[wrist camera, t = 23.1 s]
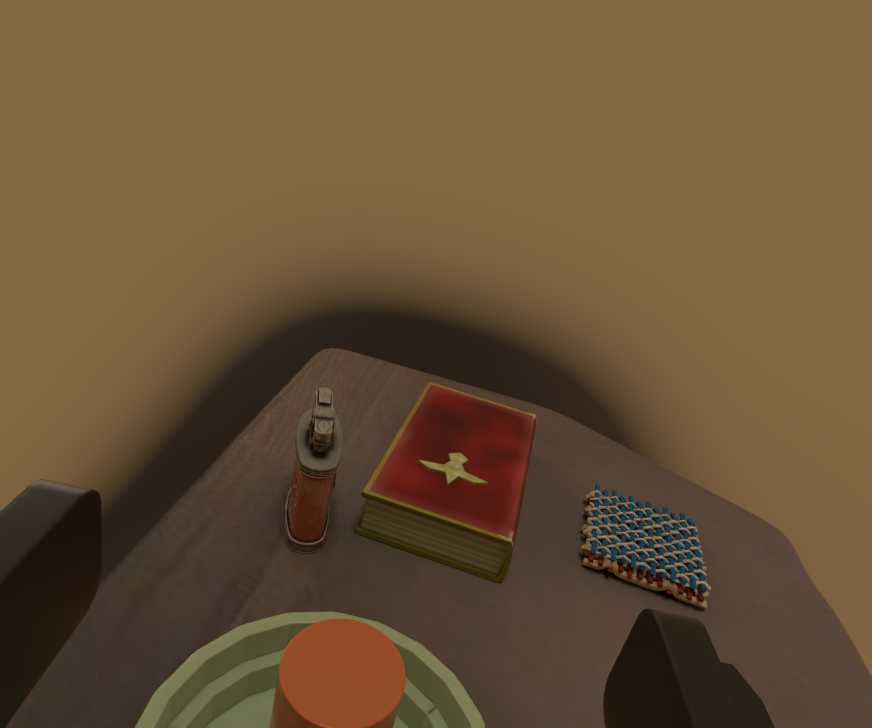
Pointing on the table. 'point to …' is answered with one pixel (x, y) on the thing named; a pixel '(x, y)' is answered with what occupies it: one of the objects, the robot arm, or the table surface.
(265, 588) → the table surface
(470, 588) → the table surface
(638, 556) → the woven mat
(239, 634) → the green shallow round container
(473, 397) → the hardcover book
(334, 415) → the lighter
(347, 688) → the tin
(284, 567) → the table surface
